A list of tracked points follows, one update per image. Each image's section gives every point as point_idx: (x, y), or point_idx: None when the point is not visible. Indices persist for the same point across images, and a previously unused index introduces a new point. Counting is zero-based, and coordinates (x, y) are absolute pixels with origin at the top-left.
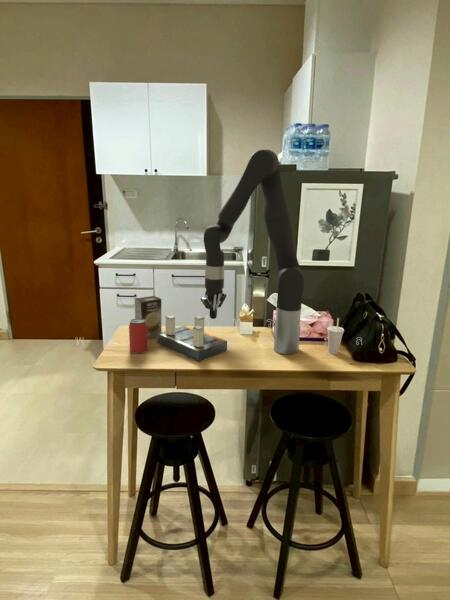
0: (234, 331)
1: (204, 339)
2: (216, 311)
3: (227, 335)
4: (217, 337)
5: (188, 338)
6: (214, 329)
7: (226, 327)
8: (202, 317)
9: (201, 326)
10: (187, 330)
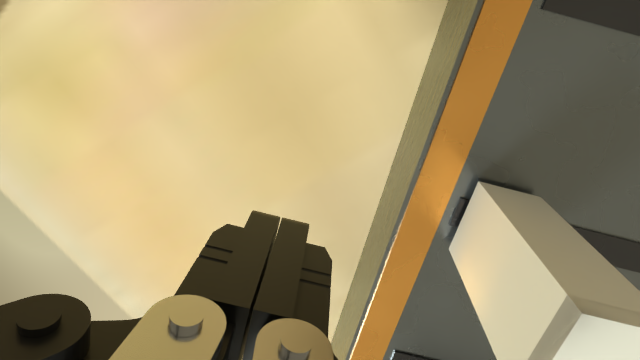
0: (18, 70)
1: (600, 110)
2: (223, 275)
3: (144, 76)
4: (487, 7)
5: (637, 252)
6: (113, 233)
7: (3, 177)
8: (589, 339)
9: (569, 244)
10: (434, 348)
